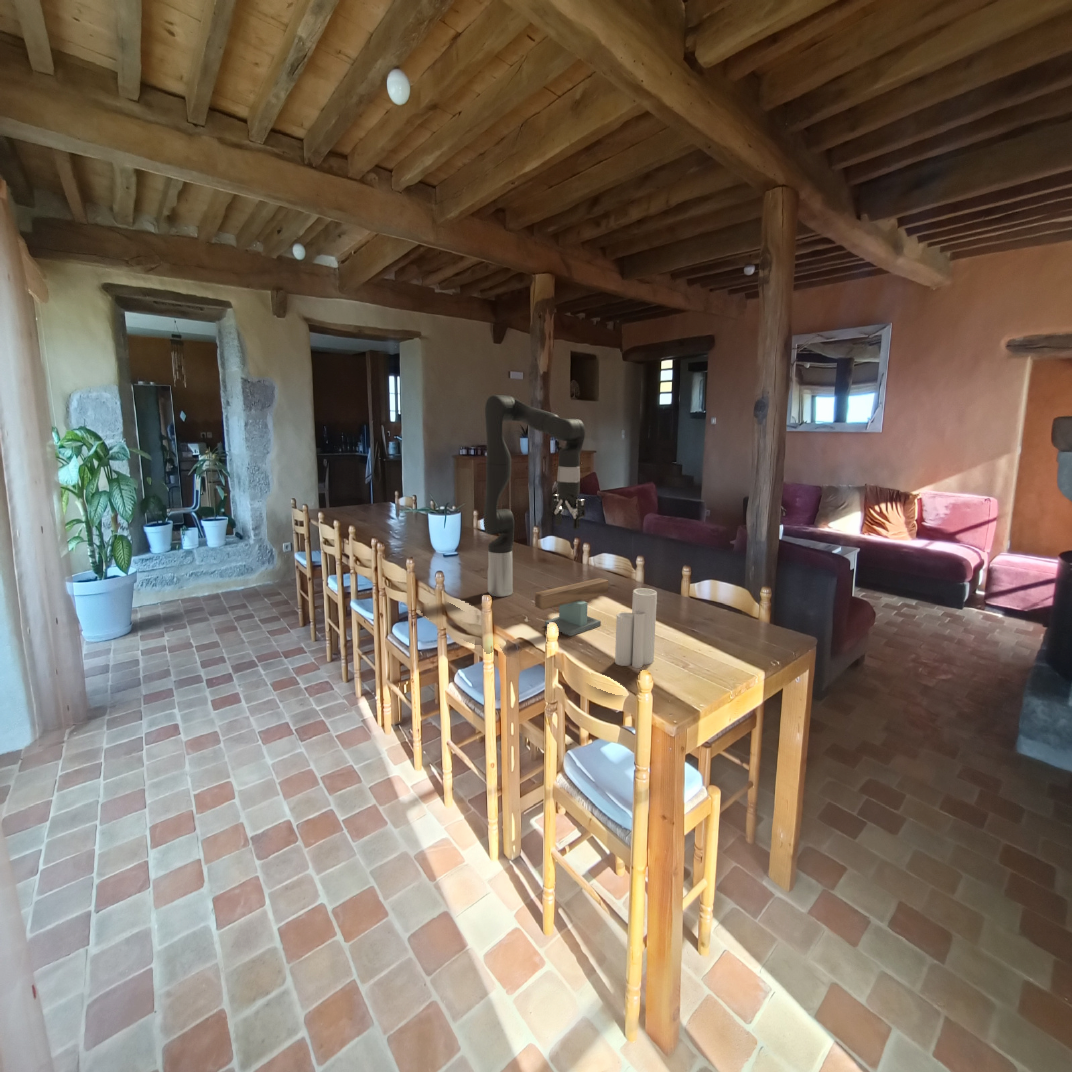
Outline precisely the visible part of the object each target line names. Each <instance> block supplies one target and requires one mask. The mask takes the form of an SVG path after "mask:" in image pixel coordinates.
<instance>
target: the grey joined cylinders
mask: <svg viewBox="0 0 1072 1072" xmlns="http://www.w3.org/2000/svg"><path fill="white" fill-rule="evenodd" d="M657 597H658V592H657V591H656V590H654V589H653V588H652V589H651V588H644V587H642V588H635V589H633V590H632V609H631V612H627V611H626V612H625V611H624V612H623V611H622V612H618V613H616V621H615V623H616V624H615V625H616V626H615V627H616V628H615V654H614V655H615V657H614V660H615V661H614V663H615V664H616V665H618V666H623V667H624V666H625V667H627V666H632V667H633V668H635V669H639V668H643V665H644V666H645V665H651V664H653V663H654V657H655V655H654V654H655V640H656V639H655V638H656V637H655V636H656V620H657V619H656V618H657V601H658V600H657V599H658V598H657Z"/></svg>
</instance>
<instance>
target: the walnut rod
mask: <svg viewBox="0 0 1072 1072" xmlns="http://www.w3.org/2000/svg"><path fill="white" fill-rule="evenodd" d="M606 594H609V580H608V579H605V578H602V577H598V578H594V579H589V580H585V581H581V582H577V583H572V584H568V585H563V586H559V587H555V588H551V589H546V590H541V591H537V592H534V607H535V608H537V609H539V610H541V611H544V610H548V609H553V608H557V607H559V606H560V605H564V604H568V603H572V602H576V601H580V600H582V601H584V600H587V599H591V598H595V597H599V596H603V595H606Z"/></svg>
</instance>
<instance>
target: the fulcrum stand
mask: <svg viewBox="0 0 1072 1072" xmlns="http://www.w3.org/2000/svg"><path fill="white" fill-rule="evenodd" d="M588 605H589V603H588V602H586V601H584V600H580V601H576V602H572V603H568V604H564V605H560V606H558V613H559V614H558V616H557V617H554V618H551V619H547V620H545V621H544V626H545V627H547V624H549V622H555V623H556V624H557V626H558V628H559V631H558V633H561V632H562V633H561V634H564V635H566V636H569V637H573V636H576V635H579V634H581V633H584V632H587V631H590V630H593V629H595V627H596V628H599V627H601V622H602V621H601V620H600V619H596V618H593V617H590V616H588ZM592 628H593V629H592ZM586 630H587V631H586Z"/></svg>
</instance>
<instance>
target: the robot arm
mask: <svg viewBox="0 0 1072 1072" xmlns="http://www.w3.org/2000/svg"><path fill="white" fill-rule="evenodd" d="M484 415H485V417H484V418H485V429H486V431H485V432H486V461H485V463H486V464H485V465H486V466H485V467H486V468H485V469H486V470H485V474H486V475H485V477H486V479H485V480H486V481H485V482H486V483H485V484H486V485H485V501H484V509H483V518H482V520H483V527H484V528H483V529H484V531H485V533H486V534H487V535H498V536H497V537H496V538H495V539H494V540H492V541H491V542H489V543H488V548H487V549H488V553H487V554H488V568H487V592H488V594H489V595H490V596H491V597H498V598H499V597H501V598H502V597H509V596H511V595H513V592H514V591H513V585H514V584H513V583H514V582H513V581H514V580H513V546H514V538H515V537H514V535H515V518H514V514H513V512H512V511H511V510H510V509H509V508H503V509H501V508H499V509H498V506H499V505H498V503H499V499H500V497H501V495H502V493H503V492H504V490H505V489H506V487H507V485H508V483H509V481H510V480H511V476H512V456H511V452H510V450H509V448H508V445H507V444H506V442H505V439H504V436H503V435H504V433H503V424H504V423H503V422H510V421H511V422H512V421H513V422H514V421H515V422H522V423H524V424H526V425H528V426H529V427H530V428H532V429H534V430H536V431H538V432H541V433H545V434H547V435H549V436H551V437H553V438H554V439H557V440H559V441H562V442H563V441H564V442H566V443H565V446H564V447H562V448H561V449H559V452H558V468H557V478H556V479H557V483H556V488H557V489H556V493H557V494H552V495H551V501H550V502H551V504H550V505H551V506H550V512H552V513H554V515H555V516H554V517H555V519H554V521H555V526H561V525H562V523H563V522H562V521H563V514H562V513H563V512H564V510H567V511H569V513H570V514H571V515H572V517H573V518H572V519H573V520H572V529H573V530H579V528H580V525H581V518H585V517H586V500H585V499H583V498H581V499H579V498H578V497H579V496H578V495H579V494H580V491H581V489H580V487H581V485H580V484H581V483H580V482H581V481H580V480H581V469H580V464H581V452H582V448H583V445H584V441H585V437H586V427H585V424H584V422H583V421H582V420H581V419H579V418H578V419H577V418H563V417H560V416H559V415H558V414H555V413H553V412H550V411H546V410H544V409H539V408H536V407H533V406H531V405H528V404H527V403H523V402H522V401H520V400H519V399H517V398H515V397H513V396H511V395H506V394H503V395H500V394H495V395H494V394H493V395H490V396H489V397H488V398H487V399H486V402H485V407H484Z"/></svg>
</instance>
